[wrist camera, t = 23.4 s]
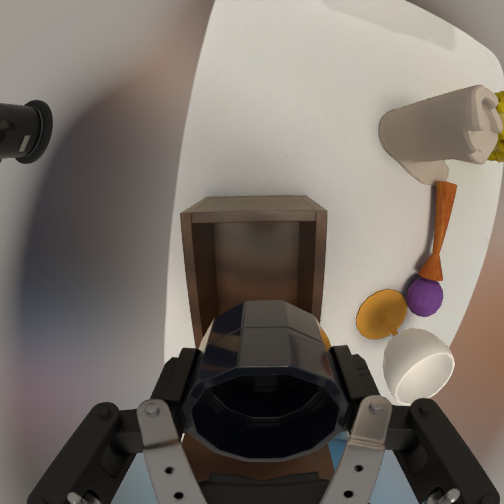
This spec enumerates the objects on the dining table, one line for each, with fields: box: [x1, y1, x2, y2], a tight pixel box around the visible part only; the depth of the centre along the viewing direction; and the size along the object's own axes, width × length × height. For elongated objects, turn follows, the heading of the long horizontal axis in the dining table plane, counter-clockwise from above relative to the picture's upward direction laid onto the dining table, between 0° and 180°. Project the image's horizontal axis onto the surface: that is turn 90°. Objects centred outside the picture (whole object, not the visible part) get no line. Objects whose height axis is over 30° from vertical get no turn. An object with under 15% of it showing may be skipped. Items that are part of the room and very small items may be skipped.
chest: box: [180, 196, 327, 350], centre depth 33 cm, size 20×13×12 cm, turn 1°
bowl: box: [180, 300, 350, 462], centre depth 11 cm, size 6×6×5 cm
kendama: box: [407, 181, 457, 317], centre depth 34 cm, size 6×6×20 cm
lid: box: [182, 433, 335, 481], centre depth 20 cm, size 21×13×5 cm
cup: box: [356, 289, 455, 405], centre depth 33 cm, size 9×9×16 cm
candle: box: [379, 85, 503, 188], centre depth 23 cm, size 7×14×20 cm, turn 56°
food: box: [486, 91, 504, 162], centre depth 24 cm, size 15×12×10 cm
